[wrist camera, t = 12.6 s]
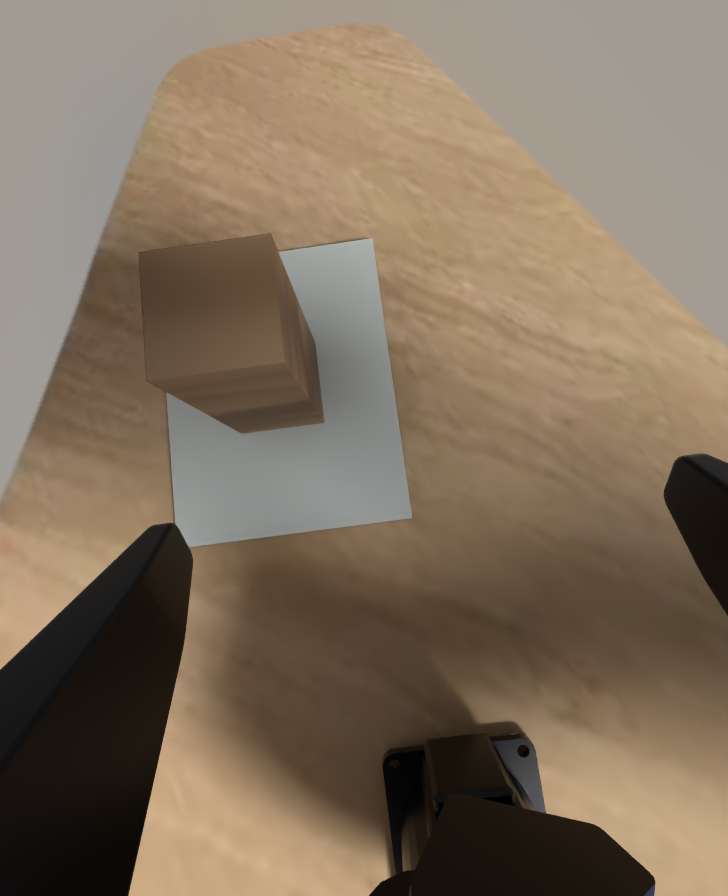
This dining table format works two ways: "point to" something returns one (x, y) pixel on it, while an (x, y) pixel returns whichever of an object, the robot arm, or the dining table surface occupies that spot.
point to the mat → (311, 446)
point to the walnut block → (230, 334)
